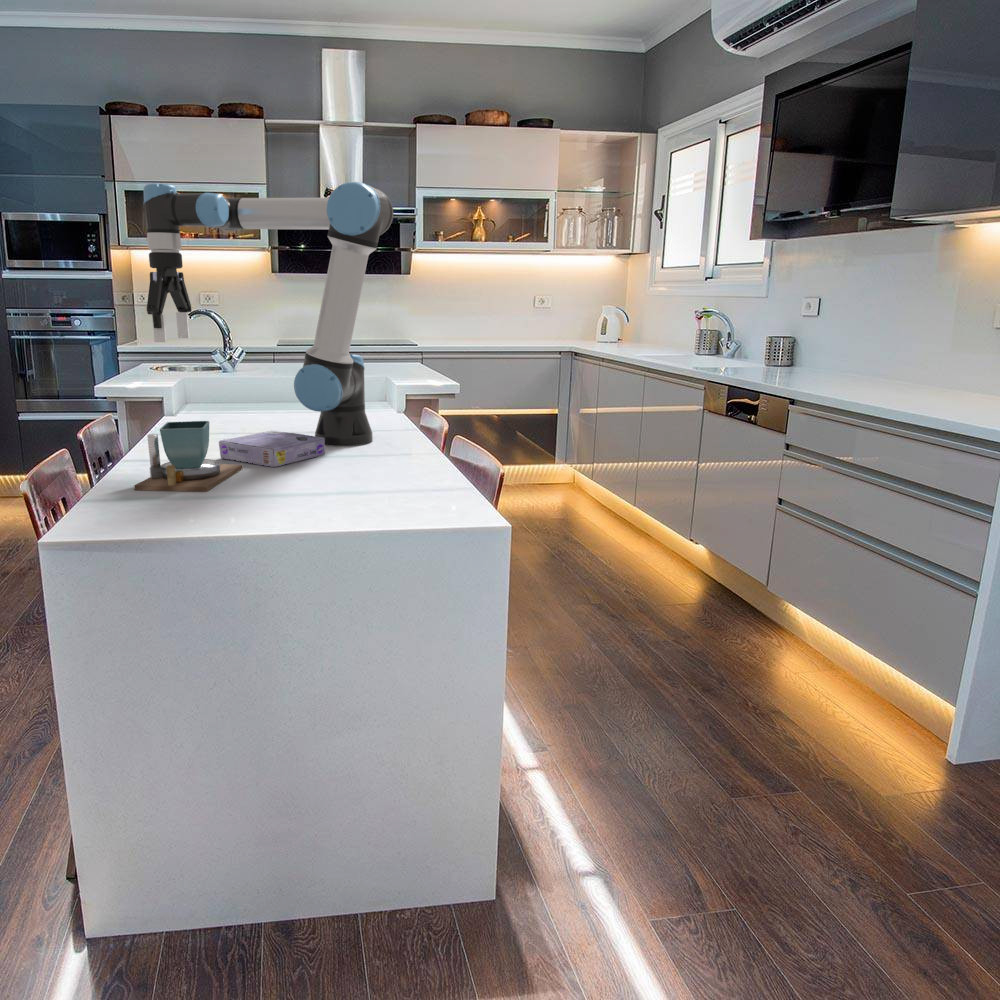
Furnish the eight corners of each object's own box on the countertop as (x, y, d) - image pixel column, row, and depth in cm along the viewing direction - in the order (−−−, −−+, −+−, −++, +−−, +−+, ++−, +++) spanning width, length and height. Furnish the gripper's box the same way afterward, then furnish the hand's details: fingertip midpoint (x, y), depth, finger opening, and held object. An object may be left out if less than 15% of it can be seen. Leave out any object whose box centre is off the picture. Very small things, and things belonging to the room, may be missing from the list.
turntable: (213, 465, 190) (210, 425, 188) (226, 477, 180) (223, 435, 177) (146, 471, 184) (142, 430, 181) (156, 484, 173) (151, 441, 170)
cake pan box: (269, 448, 218) (215, 458, 203) (268, 429, 217) (214, 437, 202) (326, 457, 209) (275, 468, 194) (326, 436, 208) (274, 446, 193)
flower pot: (162, 471, 175) (158, 428, 173) (170, 462, 183) (166, 421, 181) (207, 470, 177) (203, 427, 174) (212, 461, 185) (209, 420, 183)
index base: (242, 469, 193) (241, 447, 191) (206, 491, 172) (204, 467, 171) (178, 467, 193) (176, 446, 192) (134, 490, 173) (132, 466, 172)
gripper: (171, 252, 218) (179, 336, 224) (125, 250, 194) (134, 343, 200) (200, 253, 218) (206, 336, 223) (157, 250, 194) (165, 344, 199)
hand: (172, 340), depth 212 cm, fingers open, 13 cm apart
